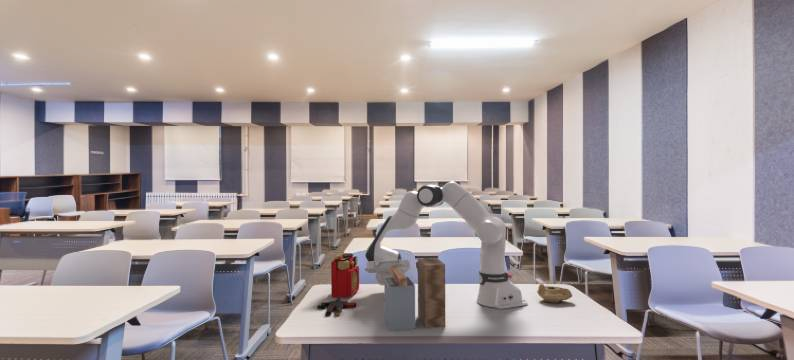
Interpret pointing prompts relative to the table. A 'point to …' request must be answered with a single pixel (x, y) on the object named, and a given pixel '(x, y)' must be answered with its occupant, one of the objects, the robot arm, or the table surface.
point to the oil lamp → (553, 293)
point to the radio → (344, 276)
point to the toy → (336, 306)
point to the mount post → (431, 292)
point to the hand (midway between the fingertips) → (390, 260)
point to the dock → (399, 305)
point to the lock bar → (398, 275)
